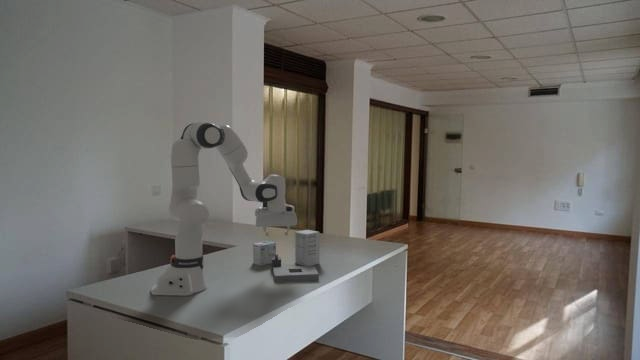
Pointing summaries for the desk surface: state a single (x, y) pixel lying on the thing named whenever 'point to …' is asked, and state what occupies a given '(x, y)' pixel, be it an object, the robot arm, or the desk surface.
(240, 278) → the desk surface
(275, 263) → the plug
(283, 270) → the socket plate
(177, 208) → the robot arm
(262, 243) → the light bulb box
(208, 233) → the desk surface
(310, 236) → the supplement box
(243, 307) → the desk surface
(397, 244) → the desk surface
